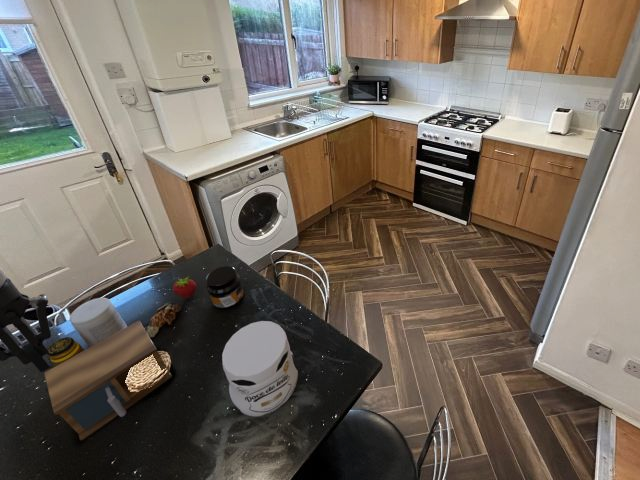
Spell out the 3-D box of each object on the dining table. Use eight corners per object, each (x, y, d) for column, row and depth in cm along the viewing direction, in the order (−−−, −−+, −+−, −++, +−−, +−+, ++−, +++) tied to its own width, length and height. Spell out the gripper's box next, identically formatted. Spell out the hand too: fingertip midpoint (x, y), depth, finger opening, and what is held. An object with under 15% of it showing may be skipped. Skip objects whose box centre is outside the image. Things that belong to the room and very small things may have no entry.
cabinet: (69, 401, 82) (44, 372, 76) (155, 348, 96) (139, 320, 89) (81, 441, 75) (53, 413, 68) (172, 377, 88) (156, 348, 82)
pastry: (138, 336, 99) (134, 329, 97) (165, 306, 110) (162, 299, 108) (159, 338, 99) (155, 331, 97) (184, 308, 109) (180, 300, 107)
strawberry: (184, 290, 116) (176, 270, 111) (203, 292, 115) (196, 272, 111) (174, 303, 111) (164, 283, 106) (194, 304, 110) (185, 284, 105)
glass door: (84, 428, 76) (63, 406, 71) (129, 397, 82) (113, 375, 77) (89, 445, 73) (68, 423, 68) (136, 412, 79) (119, 389, 74)
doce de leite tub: (273, 433, 76) (259, 393, 67) (219, 406, 81) (199, 366, 73) (311, 368, 90) (304, 328, 82) (263, 349, 96) (251, 309, 87)
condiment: (87, 380, 87) (65, 354, 81) (51, 387, 86) (27, 361, 80) (101, 356, 93) (82, 330, 88) (68, 362, 92) (47, 336, 86)
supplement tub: (136, 325, 103) (117, 294, 95) (121, 352, 95) (100, 319, 87) (102, 331, 101) (81, 299, 94) (85, 358, 93) (60, 326, 86)
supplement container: (231, 314, 107) (222, 289, 101) (206, 307, 109) (196, 282, 103) (250, 292, 116) (244, 267, 110) (227, 285, 118) (219, 262, 112)
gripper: (-81, 324, 50) (3, 402, 62) (32, 279, 59) (86, 355, 71) (-79, 300, 54) (-1, 377, 66) (26, 262, 63) (79, 336, 75)
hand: (44, 365), depth 68 cm, fingers closed
